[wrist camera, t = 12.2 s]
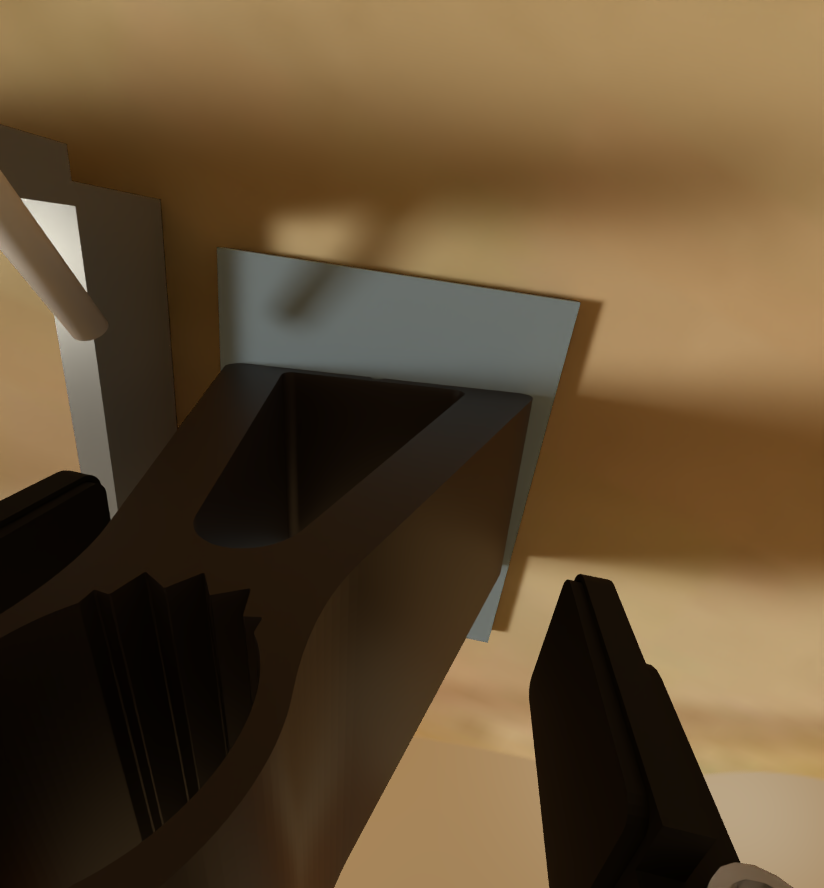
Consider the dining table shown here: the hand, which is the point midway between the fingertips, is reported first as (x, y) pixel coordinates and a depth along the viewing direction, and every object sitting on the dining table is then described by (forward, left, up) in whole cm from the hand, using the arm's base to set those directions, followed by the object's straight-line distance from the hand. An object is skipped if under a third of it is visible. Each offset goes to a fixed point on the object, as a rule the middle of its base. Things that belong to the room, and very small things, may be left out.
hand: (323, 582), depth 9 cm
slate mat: (0, 0, -6) cm, 6 cm away
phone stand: (0, 0, -6) cm, 6 cm away
